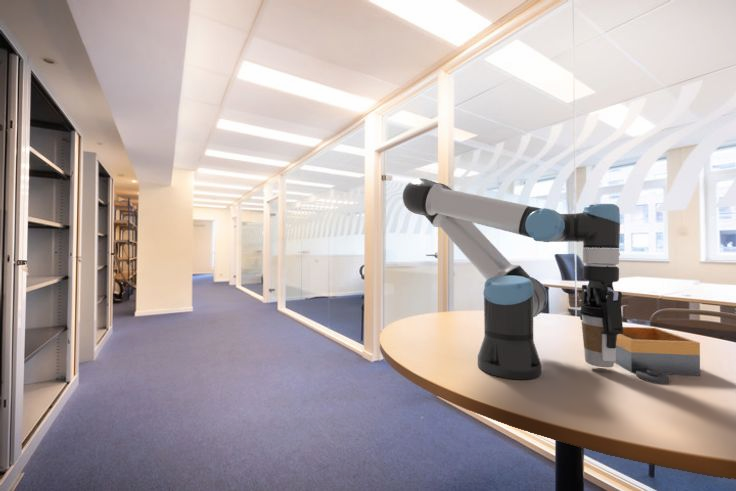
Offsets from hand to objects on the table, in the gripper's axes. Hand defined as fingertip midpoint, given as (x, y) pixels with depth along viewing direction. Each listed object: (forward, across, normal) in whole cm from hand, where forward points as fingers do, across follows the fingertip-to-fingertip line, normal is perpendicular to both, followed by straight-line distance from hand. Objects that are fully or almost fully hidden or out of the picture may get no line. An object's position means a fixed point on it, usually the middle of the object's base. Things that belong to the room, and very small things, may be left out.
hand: (599, 354), depth 83 cm
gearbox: (+4, +7, -14) cm, 16 cm away
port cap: (+4, -4, -10) cm, 11 cm away
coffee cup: (+2, 0, 0) cm, 2 cm away
